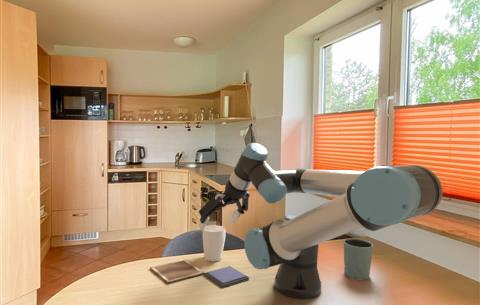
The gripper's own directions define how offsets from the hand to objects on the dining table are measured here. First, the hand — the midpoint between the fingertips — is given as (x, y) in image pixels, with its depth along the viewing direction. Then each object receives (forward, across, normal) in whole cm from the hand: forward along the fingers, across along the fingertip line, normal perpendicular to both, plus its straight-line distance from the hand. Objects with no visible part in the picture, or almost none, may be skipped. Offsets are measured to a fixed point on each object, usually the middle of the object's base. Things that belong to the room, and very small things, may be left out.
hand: (216, 225), depth 122 cm
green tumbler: (-7, -39, +37) cm, 54 cm away
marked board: (+14, +14, +7) cm, 21 cm away
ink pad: (+7, +2, +17) cm, 19 cm away
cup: (+16, -3, +4) cm, 17 cm away
